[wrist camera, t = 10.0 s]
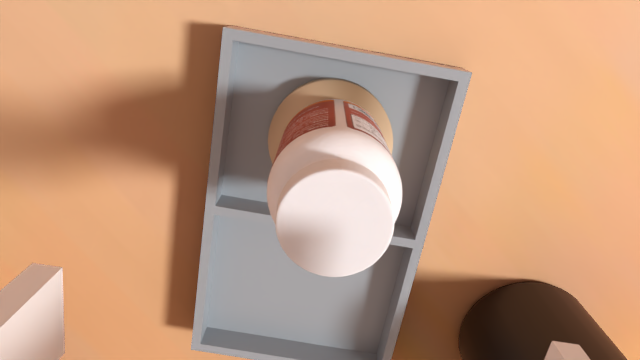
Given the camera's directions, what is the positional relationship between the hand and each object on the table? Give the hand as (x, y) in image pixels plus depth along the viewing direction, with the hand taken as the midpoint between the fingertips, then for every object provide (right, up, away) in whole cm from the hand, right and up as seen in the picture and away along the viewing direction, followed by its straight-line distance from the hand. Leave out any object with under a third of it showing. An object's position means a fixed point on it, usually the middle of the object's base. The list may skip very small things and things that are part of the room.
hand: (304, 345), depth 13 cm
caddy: (0, +2, +19) cm, 20 cm away
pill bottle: (+1, +7, +16) cm, 17 cm away
